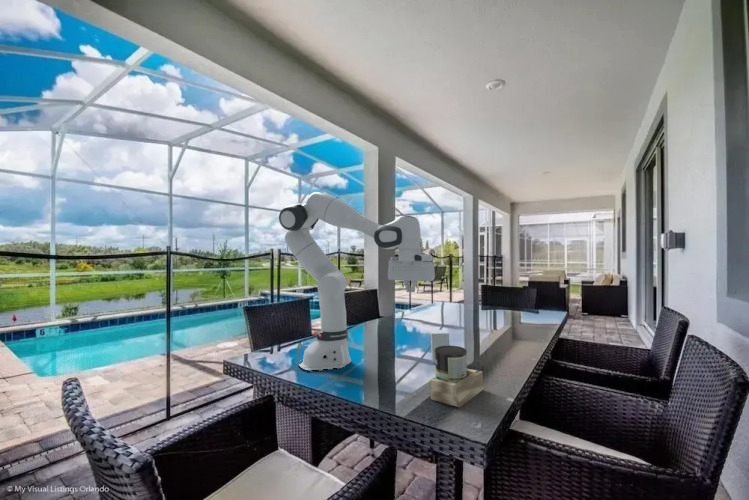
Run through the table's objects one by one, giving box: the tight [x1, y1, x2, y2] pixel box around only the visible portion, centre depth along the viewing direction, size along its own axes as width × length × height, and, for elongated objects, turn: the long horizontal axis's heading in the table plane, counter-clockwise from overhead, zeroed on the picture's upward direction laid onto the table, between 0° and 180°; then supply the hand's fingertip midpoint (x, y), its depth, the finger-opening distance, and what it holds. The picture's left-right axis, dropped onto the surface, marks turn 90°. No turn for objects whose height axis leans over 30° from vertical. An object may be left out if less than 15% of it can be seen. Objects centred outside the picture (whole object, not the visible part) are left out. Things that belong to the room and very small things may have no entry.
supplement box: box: [430, 329, 450, 364], centre depth 148 cm, size 7×7×13 cm
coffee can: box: [434, 345, 468, 384], centre depth 114 cm, size 10×10×14 cm
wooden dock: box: [429, 368, 484, 408], centre depth 112 cm, size 10×17×6 cm, turn 140°
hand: (410, 292), depth 134 cm, fingers closed
